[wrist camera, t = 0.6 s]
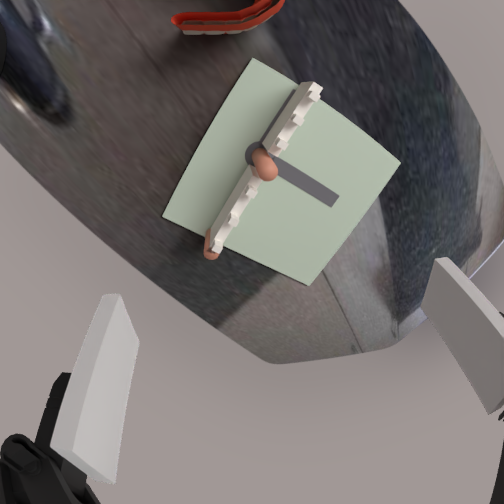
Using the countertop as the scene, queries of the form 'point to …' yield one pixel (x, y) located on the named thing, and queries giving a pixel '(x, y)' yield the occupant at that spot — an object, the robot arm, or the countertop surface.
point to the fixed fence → (285, 129)
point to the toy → (227, 19)
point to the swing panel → (231, 212)
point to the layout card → (282, 178)
